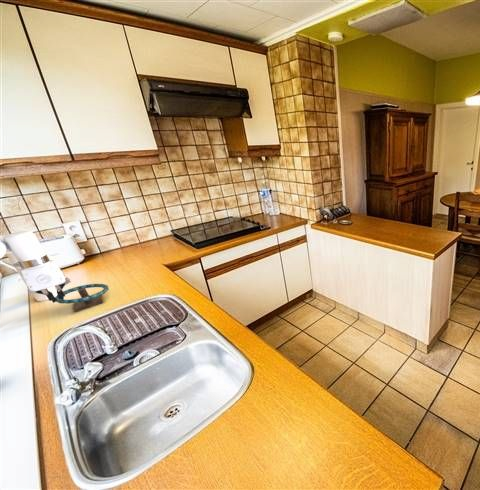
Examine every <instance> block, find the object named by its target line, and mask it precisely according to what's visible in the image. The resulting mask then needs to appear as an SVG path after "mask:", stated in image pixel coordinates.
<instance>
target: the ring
mask: <svg viewBox="0 0 480 490" xmlns="http://www.w3.org/2000/svg"><path fill="white" fill-rule="evenodd" d="M82 288H85V289H91V288H102V290H101V291H98V292H97V293H93V294H91V295H89V296H88V297H83V298H81V297H79V298H72V299H63V300H62V299H60V297H59V296H58V295H57V296H55V301H56V302H55V303H58V304H67V305H69V304H74V303H78V302H83V301H87V300H90V299H93V298H96V297H99V296H101V295H102V296H104V295H105V294H106V293H108V291H109V289H110V287H109V285H108V284H104V283H90V284H89V283H88V284H84V285H79V286H75V287H72V288H68V289H66V290H62V291H63V293H64V294H65V296H66V295H68V294H71V293H73V292H76V291H77V292H78V290H79V289H82Z"/></svg>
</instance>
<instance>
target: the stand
mask: <svg viewBox="0 0 480 490" xmlns="http://www.w3.org/2000/svg"><path fill="white" fill-rule="evenodd" d="M77 292H78V294H79V296H80V298H83V297H88V296H90V294H89V293H88V291H87V288H82V289H79V290H77ZM103 303H104V300H103V295H101V296H99V297H96V298H93V299H90V300H87V301H83V302H78V303H73V311H74V312H75V313H77V312H81V311H83V310H86V309H88V308H92V307H94V306H97V305H100V304H103Z"/></svg>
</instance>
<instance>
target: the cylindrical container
mask: <svg viewBox="0 0 480 490" xmlns="http://www.w3.org/2000/svg"><path fill="white" fill-rule="evenodd" d="M5 255H6V256H7V258H8V259H9V261H10V262H11V264H12V265H13V264H15V263H17V262H18V261H17V259H16V258H15V256H14V254H13V253H12V252H8V253H6V254H5ZM13 267H14V268H15V270H16V271H17V273H18V275H19V276H20V278H21V280H22V281H23V282H24V280H23V278H22V276H21V273H20V269H21V267H20V266H19V267H18V266H17V267H15V266H14V265H13ZM47 289H48V291H50V292H52V294H53V295H54V297H56V296H57V295H58V294H57V289H56V287H55V286H53V287H50V288H47ZM32 296H33V297H34V299H35V300H36V302H45V301H49V299H48V298H47V296H46V295H43V294H38V293H35V294H32Z"/></svg>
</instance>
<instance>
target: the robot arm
mask: <svg viewBox="0 0 480 490" xmlns="http://www.w3.org/2000/svg"><path fill="white" fill-rule="evenodd" d="M8 252H12V253H13V254H14V256H15V258H16V259H17V261H18V262H17V263H15V264H12V266H13V267H14V266H15V267H17V266H18V267H19V266H20V267H21V269H20V273H21V276H22V278H23V279H22V278H21V279H22V281H23V280H24V281H23V282H24V284H25V286H26V287H27V294H29V295H31V294H32V295H33V294H35V293H38V294H43V295H46V296H47V298H48V301H49V302H52V303H53V304H54V303H57V302H56V301H55V297H56V296H55V297H54V295H53V294H52V292H50V291H48V289H47V288H50V287H53V286H54V287H55V289H56V290H57V294H58V296H59V297H60V299H62V300H65V297H66V295H65V294H64V293H63V291H64V290H63V289H64V288H65V286H67V285H68V284H69V283H72V279H70V278H69V277H67V276H66V275H65V274H64V272H63V271H62V270H61V268H60V267H59V266H58V265H57V263H56V262H55V261H54V260H52V259H50V258H49V256H48V254H47V253H46V251H45V249H44V248H43V246H42V244H41V243H40V241H39V239H38V238H37V235H36V234H35V233H34V232H33V231H30V230H22V231H17V232H13V233H9V234H1V235H0V260H1V259H2V258H4V256H5V255H6V253H8ZM15 267H14V268H15ZM21 276H20V277H21Z"/></svg>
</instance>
